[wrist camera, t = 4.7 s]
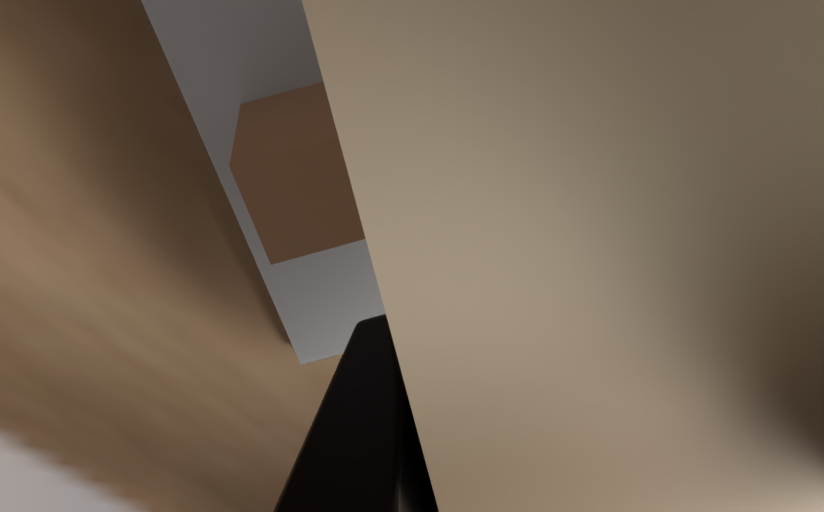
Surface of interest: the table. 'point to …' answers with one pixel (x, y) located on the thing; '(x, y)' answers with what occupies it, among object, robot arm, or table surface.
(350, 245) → the fulcrum stand
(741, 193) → the beech bar
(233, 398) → the table surface
